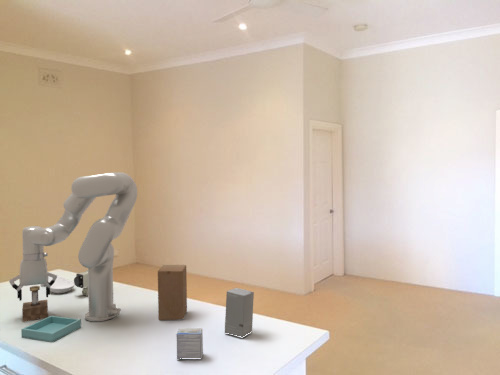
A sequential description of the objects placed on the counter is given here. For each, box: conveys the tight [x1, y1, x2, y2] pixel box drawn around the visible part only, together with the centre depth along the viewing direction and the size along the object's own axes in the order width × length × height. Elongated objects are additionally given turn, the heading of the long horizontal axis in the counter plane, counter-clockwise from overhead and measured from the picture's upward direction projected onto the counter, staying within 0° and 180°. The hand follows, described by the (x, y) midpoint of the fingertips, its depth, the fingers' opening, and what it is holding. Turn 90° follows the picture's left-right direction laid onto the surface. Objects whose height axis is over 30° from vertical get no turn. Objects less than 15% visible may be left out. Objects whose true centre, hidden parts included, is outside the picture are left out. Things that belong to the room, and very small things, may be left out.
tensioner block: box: [21, 299, 49, 323], centre depth 168 cm, size 9×9×5 cm
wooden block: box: [157, 264, 188, 321], centre depth 167 cm, size 10×10×20 cm
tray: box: [20, 315, 82, 343], centre depth 151 cm, size 14×14×3 cm
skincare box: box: [224, 287, 255, 337], centre depth 148 cm, size 8×7×16 cm
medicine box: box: [175, 327, 204, 360], centre depth 131 cm, size 8×4×9 cm, turn 92°
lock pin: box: [29, 285, 41, 306], centre depth 168 cm, size 4×4×12 cm
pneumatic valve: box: [73, 269, 88, 297], centre depth 196 cm, size 6×12×12 cm, turn 144°
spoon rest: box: [40, 273, 76, 294], centre depth 205 cm, size 24×12×7 cm, turn 52°
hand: (34, 298), depth 167 cm, fingers open, 9 cm apart
